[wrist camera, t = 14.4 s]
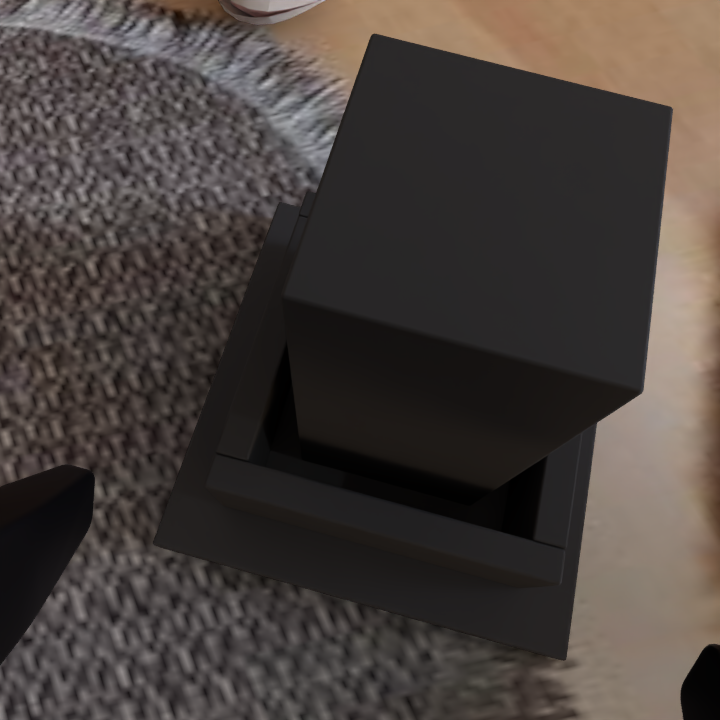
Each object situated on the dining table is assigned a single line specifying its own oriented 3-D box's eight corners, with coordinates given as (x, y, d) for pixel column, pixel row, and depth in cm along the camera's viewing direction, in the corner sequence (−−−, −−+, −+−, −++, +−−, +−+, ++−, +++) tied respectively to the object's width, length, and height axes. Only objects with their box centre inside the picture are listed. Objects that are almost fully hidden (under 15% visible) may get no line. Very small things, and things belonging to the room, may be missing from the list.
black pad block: (470, 506, 17) (644, 393, 8) (301, 459, 18) (279, 296, 8) (501, 349, 19) (675, 106, 10) (347, 308, 19) (371, 31, 10)
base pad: (553, 658, 17) (618, 673, 13) (160, 547, 17) (117, 531, 14) (602, 301, 21) (662, 236, 17) (280, 218, 21) (272, 137, 18)
